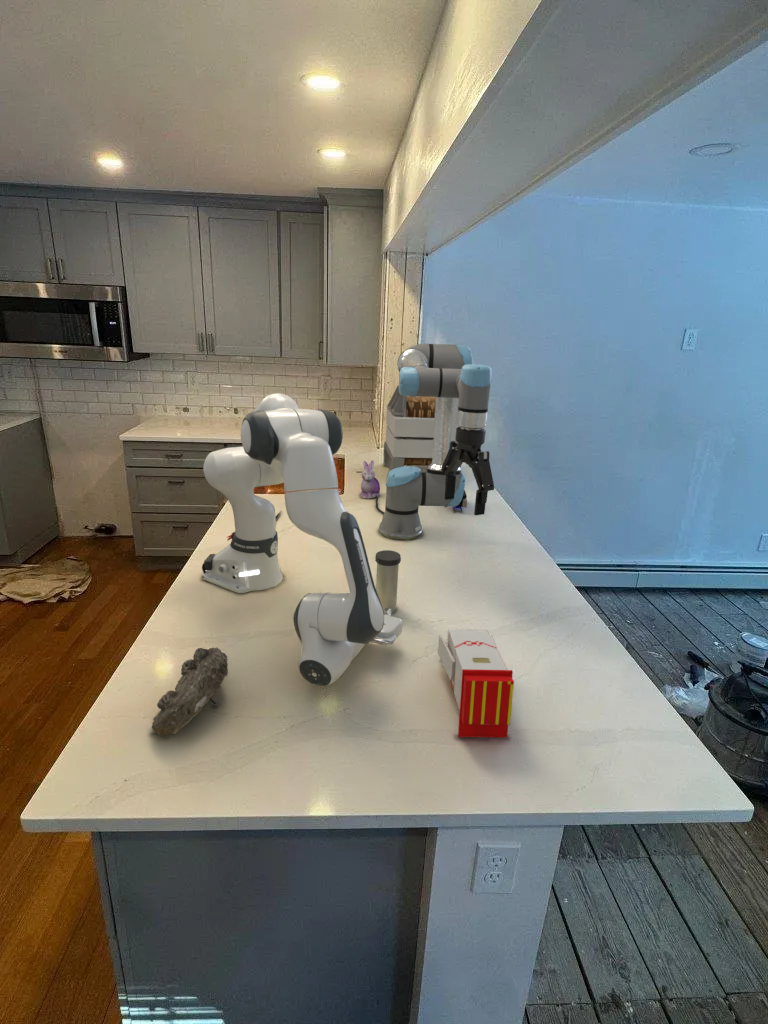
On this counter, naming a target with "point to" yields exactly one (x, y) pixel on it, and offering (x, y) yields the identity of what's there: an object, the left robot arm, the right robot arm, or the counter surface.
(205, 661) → the fossil
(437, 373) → the right robot arm
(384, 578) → the jar
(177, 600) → the counter surface
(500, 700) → the toy
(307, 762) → the counter surface
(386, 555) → the lid
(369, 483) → the figurine
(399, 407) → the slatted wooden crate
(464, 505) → the figurine character
